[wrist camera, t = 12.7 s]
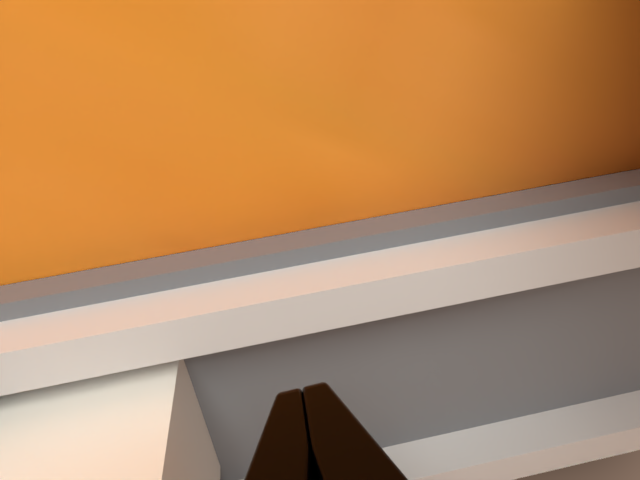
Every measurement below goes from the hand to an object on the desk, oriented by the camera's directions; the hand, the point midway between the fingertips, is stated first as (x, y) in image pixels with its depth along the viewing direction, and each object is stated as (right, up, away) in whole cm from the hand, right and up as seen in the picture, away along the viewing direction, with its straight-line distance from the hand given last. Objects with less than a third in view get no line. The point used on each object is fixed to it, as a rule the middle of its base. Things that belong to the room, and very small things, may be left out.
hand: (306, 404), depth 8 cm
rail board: (+2, -1, +8) cm, 8 cm away
